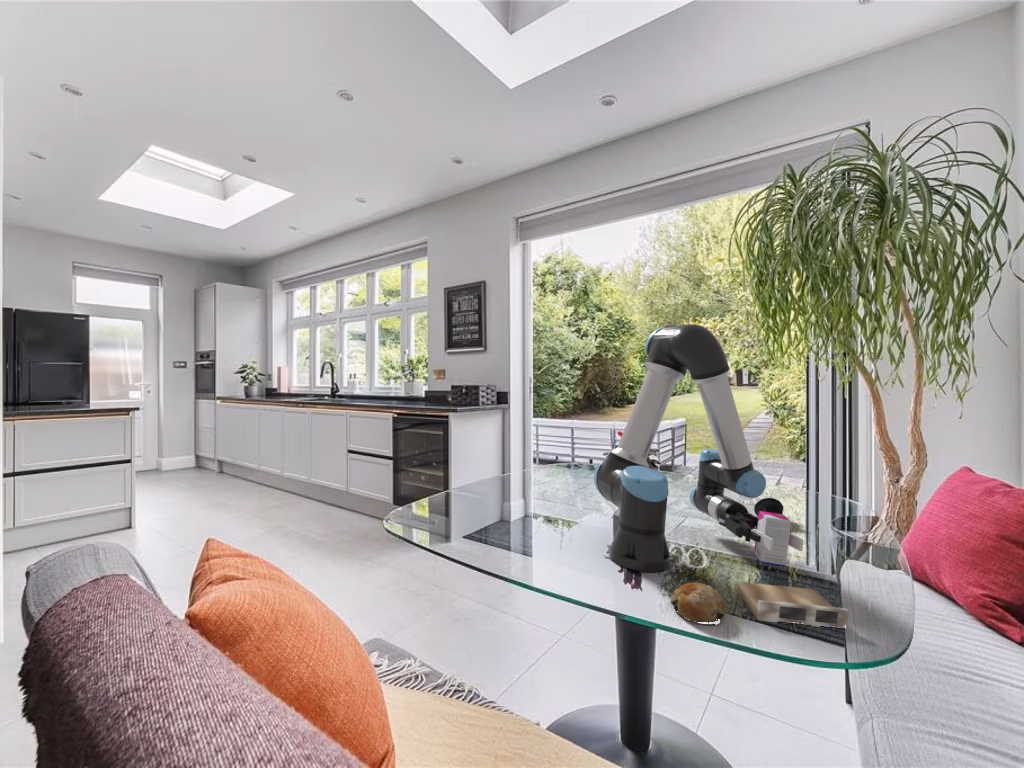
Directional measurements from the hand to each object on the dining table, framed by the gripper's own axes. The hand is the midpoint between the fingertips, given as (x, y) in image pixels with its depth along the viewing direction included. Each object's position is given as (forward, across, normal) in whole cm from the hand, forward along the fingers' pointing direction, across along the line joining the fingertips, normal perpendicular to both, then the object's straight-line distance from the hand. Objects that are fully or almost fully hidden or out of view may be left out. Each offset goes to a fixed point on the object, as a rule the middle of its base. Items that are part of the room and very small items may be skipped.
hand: (786, 545), depth 113 cm
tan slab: (+8, +5, -11) cm, 14 cm away
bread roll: (+9, +27, -12) cm, 30 cm away
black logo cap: (-47, -32, -10) cm, 58 cm away
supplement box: (-5, 0, -6) cm, 8 cm away
